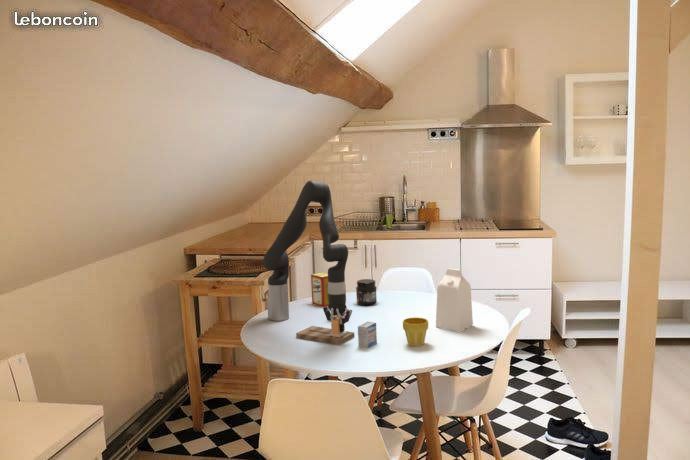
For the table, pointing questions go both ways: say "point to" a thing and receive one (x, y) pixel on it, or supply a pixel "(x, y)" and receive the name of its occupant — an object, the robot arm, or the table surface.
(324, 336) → the fader board
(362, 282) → the supplement container
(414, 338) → the plant pot
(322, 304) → the baking soda box
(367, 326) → the medicine box
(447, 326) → the milk
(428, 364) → the table surface
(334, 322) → the fader tab
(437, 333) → the table surface
